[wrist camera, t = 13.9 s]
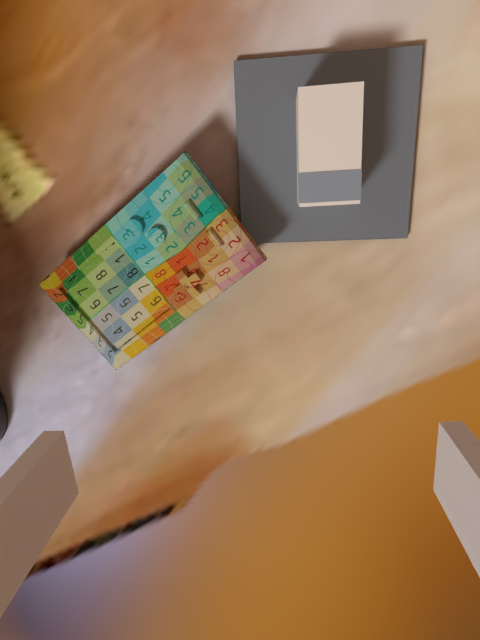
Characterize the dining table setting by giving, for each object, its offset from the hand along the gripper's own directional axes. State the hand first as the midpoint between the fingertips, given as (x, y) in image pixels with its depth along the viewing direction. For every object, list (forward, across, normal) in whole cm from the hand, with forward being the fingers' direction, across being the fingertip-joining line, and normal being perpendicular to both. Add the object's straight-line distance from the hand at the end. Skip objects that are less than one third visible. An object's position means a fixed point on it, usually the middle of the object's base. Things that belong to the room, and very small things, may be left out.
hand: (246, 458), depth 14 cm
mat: (+29, +6, +12) cm, 32 cm away
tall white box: (+29, +6, +12) cm, 32 cm away
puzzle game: (+30, -11, +2) cm, 32 cm away
